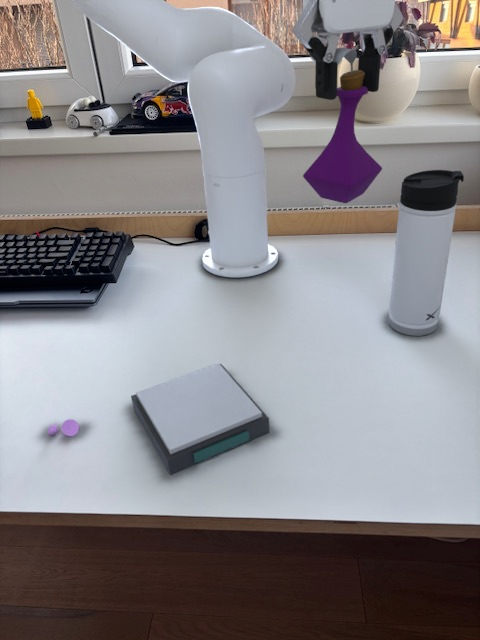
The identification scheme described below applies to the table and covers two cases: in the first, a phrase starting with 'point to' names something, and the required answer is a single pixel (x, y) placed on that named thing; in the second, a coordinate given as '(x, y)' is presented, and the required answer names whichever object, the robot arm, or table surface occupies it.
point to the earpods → (65, 428)
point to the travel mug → (422, 250)
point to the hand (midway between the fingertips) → (347, 92)
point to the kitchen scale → (198, 416)
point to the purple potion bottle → (344, 145)
